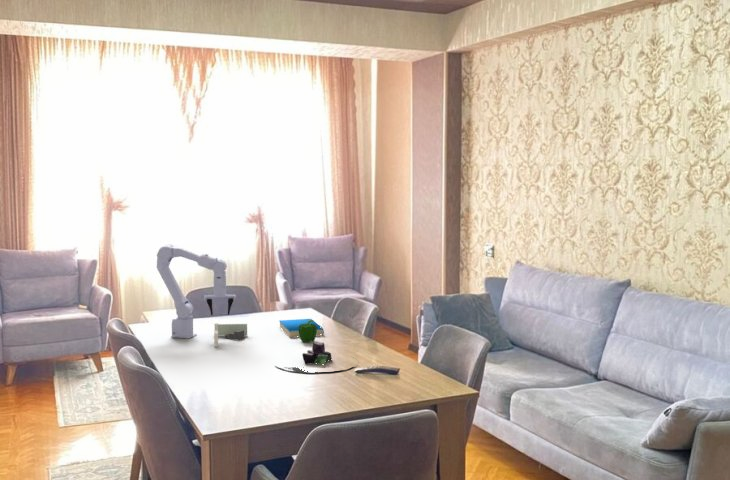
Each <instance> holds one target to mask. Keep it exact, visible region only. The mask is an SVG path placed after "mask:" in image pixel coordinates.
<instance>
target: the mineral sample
mask: <svg viewBox="0 0 730 480" xmlns="http://www.w3.org/2000/svg"><path fill="white" fill-rule="evenodd" d="M311 348H312V349H311V350H310V349H308V350H307V351H306V353H305V352H303V353H302V354H301V355H302V359H303V363H304V365H308V364H307V363H313V364H315V363H317V364H324V365H325V364H326V362H325V361H328V360H331V359H332V360H333V358H332V353H331V352H330V351H326V347H325V343H324V342H313V343H312V347H311ZM332 360H331V361H332ZM328 362H329V361H328ZM317 364H316V365H317ZM274 367H275V368H277V369H279V370H282V371H284V372H285V371H286V372H288V371H289V372H290V373H291V372H292V373H297V374H298V373H301V374H307V373H306V372H304V371H305V370H304V371H302V369H301V370H300V369H299V368H298V367H297V368H296V366H294V367H293V366H292V367H289V366H288V367H287V366H286V367H283V368H281V367H278V366H276V365H274ZM287 369H288V370H287ZM307 372H308V371H307ZM309 374H313V373H309ZM314 374H319V373H318V372H315V373H314Z"/></svg>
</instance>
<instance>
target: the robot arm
mask: <svg viewBox="0 0 730 480" xmlns="http://www.w3.org/2000/svg"><path fill="white" fill-rule="evenodd" d="M156 257H157V259H156V269H157V271H158V273H159V275H160V277H161V279H162V281H163V282H164V284H165V287H166V288H167V290H168V292H169V294H170V296H171V297H172V301H174V304H173V305H174V307H175V311H176V312H175V313H176V317H174V318H172V320H171V338H180V339H181V338H182V339H191V338H192V337H195V336H197V335H198V334H197V333H194V316H193V313H194V310H195V308H194V305H193V303H191V302H190V301H189V299H188V298H187V297H186V296H185V295H184V293H183V291H182V289H181V287H180V285H179V283H178V282H177V280H176V278H175V276H174V274H173V272H172V270H171V268H170V264H171V261H172V260H173V258H180V257H182V258H183V259H187V260H190V261H194V262H196V264H197V265H198V266H199V267H201V268H204V269H207V270H210V271H212V272H213V294H207V295H206V294H205V295H204V296H203V297H204V298H203V300H204V301H206V304H207V306H208V307H209V311H210V314H211V316H214V315H213V314H214V313H213V301H215V300H227V316H229V315H230V311H231V308H232V305H233V303H234V300H236V298H237V295H236V294H228V293H227V272H226V269H227V267H228V266H227V263H226V261H224V260H223V259H219V258H217V257H215V258H214V257H212V256H210V255H209V253H208V254H207V253H203V254H200V255H199V254H197V253H194V252H192V251H189V250H187V249H184V248H182V247H180V246H178V245H173V244H166V245H165V246H162V247H160V248H159V250H158V252H157V253H156Z"/></svg>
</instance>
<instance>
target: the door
mask: <svg viewBox="0 0 730 480" xmlns="http://www.w3.org/2000/svg"><path fill="white" fill-rule="evenodd" d="M238 330H244V337H245V336H248V323H218V337H225V335H228V334H230V333H233V332H234V331H238Z"/></svg>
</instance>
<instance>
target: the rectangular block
mask: <svg viewBox="0 0 730 480" xmlns="http://www.w3.org/2000/svg"><path fill="white" fill-rule="evenodd" d="M218 324H219V320H215V321H214V330H213V331H214V333H213V336H214V337H213V339H214V340H213V341H214V342H213V343H214V344H213V345H214V347H216V348H218V347H219V336H218Z"/></svg>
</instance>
